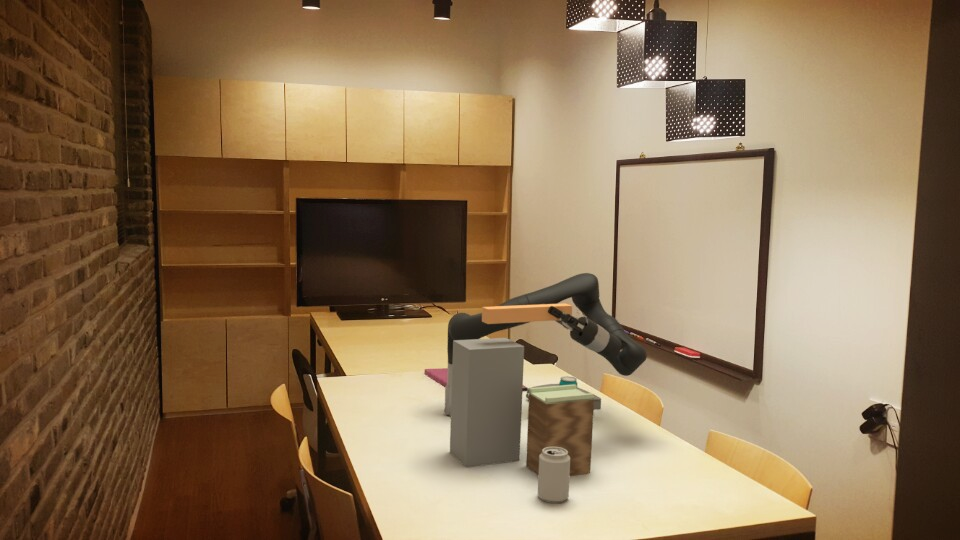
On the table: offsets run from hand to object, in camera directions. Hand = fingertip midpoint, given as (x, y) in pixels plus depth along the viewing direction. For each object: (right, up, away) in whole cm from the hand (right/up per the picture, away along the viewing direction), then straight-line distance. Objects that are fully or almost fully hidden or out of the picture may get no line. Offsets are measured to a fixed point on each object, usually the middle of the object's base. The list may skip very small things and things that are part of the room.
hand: (546, 307), depth 207 cm
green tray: (+3, -23, -12) cm, 26 cm away
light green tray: (+10, -37, +52) cm, 64 cm away
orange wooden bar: (-5, -3, -2) cm, 7 cm away
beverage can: (+9, -39, +29) cm, 49 cm away
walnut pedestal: (+2, -43, -10) cm, 44 cm away
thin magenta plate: (-20, -33, +75) cm, 84 cm away
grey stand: (-17, -41, -2) cm, 45 cm away
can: (-1, -45, -28) cm, 53 cm away
